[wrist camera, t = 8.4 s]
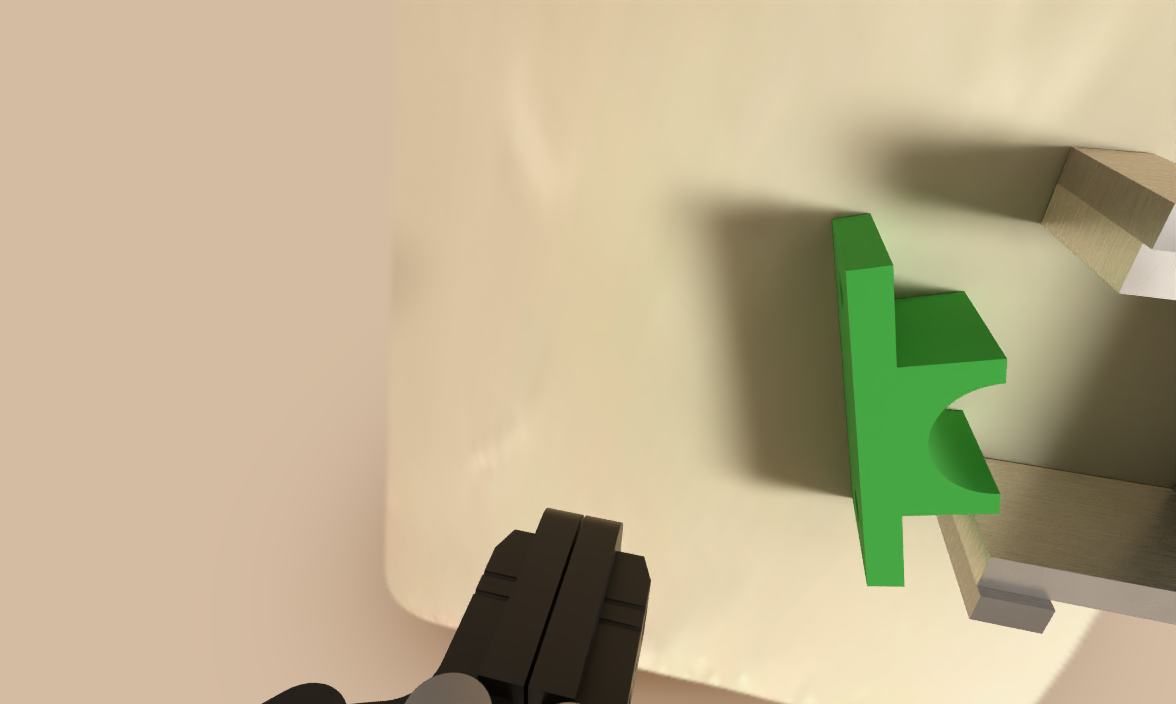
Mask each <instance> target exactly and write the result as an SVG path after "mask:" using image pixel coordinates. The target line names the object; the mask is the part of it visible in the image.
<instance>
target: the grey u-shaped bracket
mask: <svg viewBox="0 0 1176 704" xmlns="http://www.w3.org/2000/svg"><path fill="white" fill-rule="evenodd" d="M1041 224H1042V225H1043V226H1044V227H1045V228H1046V229H1047V230H1048V231H1049V232H1050V233H1052V234H1053V235H1054V236H1055V237H1056V238H1057V239H1058V240H1059V241H1061V242H1062V243H1063V244H1064V245H1065V246H1066V247H1067V248H1068V249H1070V250H1071V251H1072V252H1073V253H1074V254H1075V255H1076V256H1077V257H1079V258H1080V259H1081V260H1082V261H1083V262H1084V263H1085V264H1086V265H1087V266H1089V267H1090V268H1091V269H1092V270H1093V271H1094V272H1095V273H1096V274H1098V275H1099V276H1100V277H1101V278H1102V279H1103V280H1104V281H1105V282H1107V283H1108V284H1109V285H1110V286H1111V287H1112V288H1113V289H1114V290H1116V291H1117V292H1118V293H1120V294H1128V295H1136V296H1145V297H1153V298H1162V299H1170V300H1176V164H1175V163H1173V162H1171V161H1169V160H1166V159H1164V158H1162V157H1160V156H1158V155H1155V154H1151V153H1139V152H1127V151H1116V150H1104V149H1092V148H1080V147H1071V150H1070V152H1069V155H1068V157H1067V160H1066V162H1065V165H1064V167H1063V170H1062V172H1061V175H1060V177H1059V180H1058V182H1057V185H1056V187H1055V190H1054V193H1053V195H1052V198H1051V200H1050V203H1049V205H1048V208H1047V210H1046V213H1045V215H1044V218H1043V220H1042V223H1041ZM984 459H985V461H986V463H987V465H988V468H989V470H990V472H991V474H992V476H993V479H994V481H995V483H996V485H997V487H998V490H999V492H1000V494H1001V495H1000V514H971V515H937V519H938V522H939V525H940V528H941V531H942V534H943V537H944V541H945V544H946V547H947V550H948V553H949V556H950V559H951V563H952V566H953V569H954V572H955V575H956V578H957V581H958V585H959V588H960V591H961V594H962V597H963V600H964V604H965V607H966V610H967V613H968V616H969V619H973V620H978V621H982V622H987V623H992V624H997V625H1002V626H1007V627H1012V628H1017V629H1022V630H1026V631H1031V632H1036V633H1041V634H1042V633H1043V631H1044V629H1045V628H1046V626H1047V624H1048V623H1049V621H1050V619H1051V618H1052V616H1053V614H1054V612H1055V609H1054V607H1053V605H1052V603H1051V601H1050V600H1053V601H1058V602H1063V603H1068V604H1073V605H1078V606H1083V607H1088V608H1094V609H1099V610H1104V611H1109V612H1114V613H1119V614H1124V615H1130V616H1135V617H1140V618H1144V619H1150V620H1155V621H1160V622H1165V623H1170V624H1175V625H1176V486H1175V487H1174V489H1170V488H1164V487H1158V486H1152V485H1145V484H1139V483H1133V482H1127V481H1121V480H1115V479H1109V478H1103V477H1097V476H1091V475H1085V474H1079V473H1072V472H1066V471H1060V470H1054V469H1048V468H1042V467H1036V466H1030V465H1024V464H1018V463H1012V462H1006V461H999V460H993V459H987V458H984Z"/></svg>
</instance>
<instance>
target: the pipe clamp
mask: <svg viewBox="0 0 1176 704" xmlns="http://www.w3.org/2000/svg"><path fill="white" fill-rule="evenodd" d="M832 232H833V246H834V259H835V272H836V285H837V299H838V312H839V325H840V338H841V352H842V365H843V378H844V391H845V405H846V418H847V431H848V444H849V457H850V471H851V484H852V497H853V504H854V510H855V516H856V522H857V528H858V534H859V540H860V546H861V552H862V558H863V564H864V570H865V576H866V582H867V586H902V587H904V560H903V531H902V516H919V515H971V514H1000V495H1001V494H1000V492H999V490H998V487H997V485H996V483H995V481H994V479H993V476H992V474H991V472H990V470H989V468H988V465H987V463H986V461H985V459H984V457H983V454H982V452H981V450H980V448H979V446H978V443H977V441H976V439H975V437H974V435H973V432H972V430H971V428H970V426H969V424H968V421H967V419H966V417H965V415H964V413H963V410H958V411H955V410H945V408H946V407H947V406H949V405H950V404H951V403H952V402H954V401H955V400H957V399H958V398H960V397H962V396H963V395H965V394H967V393H969V392H972V391H974V390H977V389H980V388H983V387H986V386H991V385H996V384H1004V383H1006V369H1007V358H1006V356H1005V355H1004V353H1003V352H1002V350H1001V348H1000V347H999V345H998V344H997V342H996V341H995V339H994V337H993V336H992V334H991V333H990V331H989V330H988V328H987V326H986V325H985V323H984V322H983V320H982V319H981V317H980V315H979V314H978V312H977V311H976V309H975V307H974V306H973V304H972V303H971V301H970V300H969V298H968V296H967V295H966V293H965V292H964V291H963V292H954V293H945V294H936V295H928V296H919V297H910V298H901V299H894V274H893V264H892V261H891V259H890V257H889V255H888V252H887V250H886V248H885V246H884V243H883V241H882V239H881V237H880V234H879V232H878V230H877V228H876V225H875V223H874V221H873V219H872V216H871V214H870V213H869V214H863V215H856V216H849V217H843V218H836V219H832Z"/></svg>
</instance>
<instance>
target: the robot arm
mask: <svg viewBox="0 0 1176 704" xmlns="http://www.w3.org/2000/svg"><path fill="white" fill-rule="evenodd" d="M622 531H623V523H621V522H616V521H611V520H606V519H601V518H596V517H591V516H585V518H584V515H580V514H576V513H571V512H566V511H561V510H556V509H551V508H546V510H545V511H544V513H543V516H542V518H541V520H540V523H539V525H538V528H537V530H536V533H535V534H534V533H529V532H524V531H520V530H514V531H513V532H512V533H511V534H509V535H508V536H507V537H506V538H505V539H504V540H503V541H502V542H501V543H500V544H499V545H497V546H496V547H495V549H494V551H493V554H492V556H491V558H490V560H489V562H488V564H487V566H486V569H485V572H484V575H482V577H481V579H480V581H479V584H478V586H477V588H476V592H475V594H473V597H472V599H471V601H470V603H469V605H468V607H467V609H466V612H465V614H464V616H463V618H462V620H461V622H460V625H459V627H458V629H457V631H456V633H455V635H454V638H453V640H452V642H451V644H450V646H449V648H448V650H447V653H446V655H445V657H444V659H443V661H442V663H441V665H440V667H439V669H438V670H437V672H436V673H435V674H434V675H433V677H432V678H430V679H428V680H426V681H425V682H423V683H422V684H421V685H419V686H418V687H417V688H416V689H415V690H414V691H413V692H412V693H411V694H409V695H406V696H404V697H401V698H398V699H394V700H388V701H378V702H367V703H356V704H631V698H632V693H633V688H634V682H635V677H636V672H637V667H638V661H639V656H640V651H641V645H642V640H643V635H644V628H645V621H646V614H647V606H648V599H649V592H650V584H651V580H650V576H649V572H648V569H647V565H646V562H645V558H644V557H643V556H639V555H634V554H629V553H624V552H620V551H621V541H622ZM262 704H346V702H345V699H344V698H343V696H342V695H341V694H340V693H339V692H338V691H337V690H336V689H334V688H333V687H331V686H329V685H326V684H320V683H307V684H302V685H298V686H295V687H292V688H290V689H288V690H286V691H284V692H282V693H280V694H279V695H277V696H275V697H273V698H271V699H269V700H268V701H266V702H264V703H262Z"/></svg>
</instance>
